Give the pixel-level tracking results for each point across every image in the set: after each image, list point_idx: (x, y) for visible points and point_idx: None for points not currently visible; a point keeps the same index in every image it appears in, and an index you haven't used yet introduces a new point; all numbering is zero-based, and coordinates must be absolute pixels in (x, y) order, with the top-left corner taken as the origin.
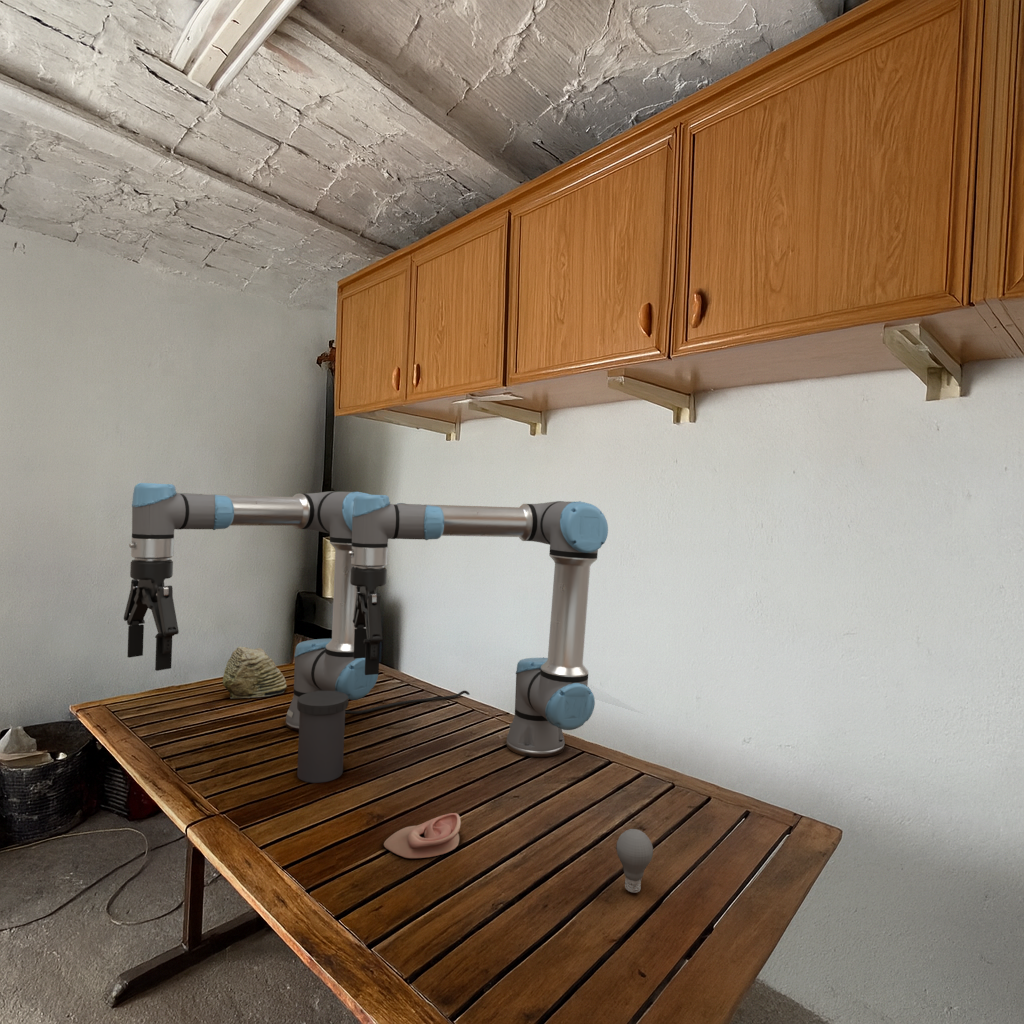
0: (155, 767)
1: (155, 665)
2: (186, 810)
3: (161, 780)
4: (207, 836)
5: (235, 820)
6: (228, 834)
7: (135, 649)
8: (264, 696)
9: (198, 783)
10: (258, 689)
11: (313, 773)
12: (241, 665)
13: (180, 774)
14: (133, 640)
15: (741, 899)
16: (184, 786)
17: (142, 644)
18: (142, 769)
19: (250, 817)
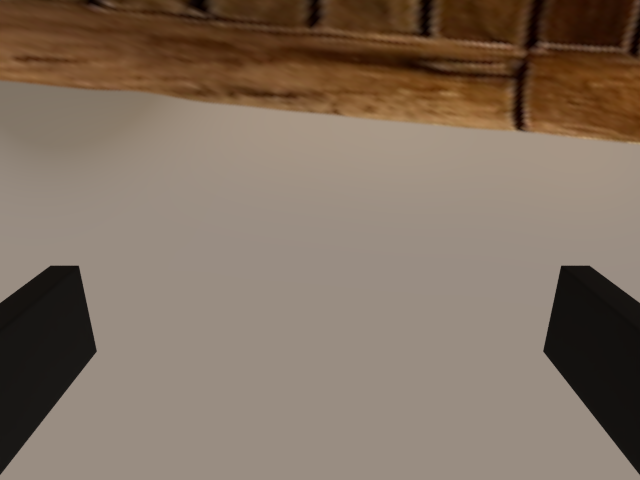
0: (147, 47)
1: (562, 371)
2: (450, 100)
3: (245, 72)
4: (594, 122)
5: (589, 40)
6: (628, 85)
7: (60, 346)
8: None
9: (331, 6)
10: None
11: None
12: None
13: (240, 16)
14: (15, 419)
15: None
16: (322, 44)
17: (24, 315)
18: (140, 79)
19: (609, 4)
